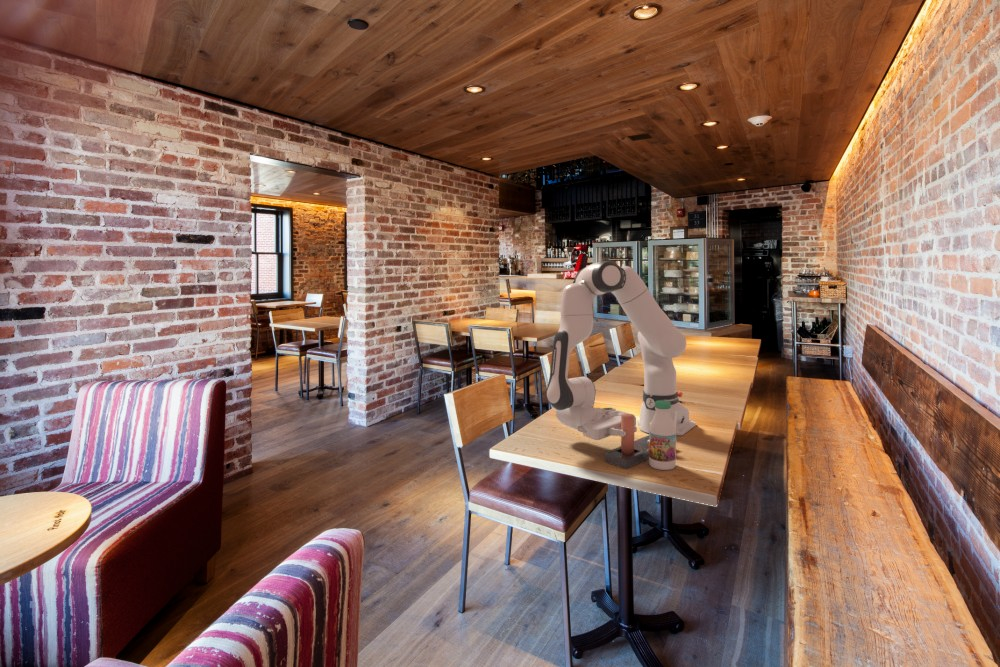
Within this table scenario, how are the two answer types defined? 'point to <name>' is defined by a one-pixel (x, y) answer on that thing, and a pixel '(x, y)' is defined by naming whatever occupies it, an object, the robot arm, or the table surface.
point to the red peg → (627, 434)
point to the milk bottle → (662, 438)
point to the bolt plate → (629, 460)
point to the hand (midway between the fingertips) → (630, 431)
